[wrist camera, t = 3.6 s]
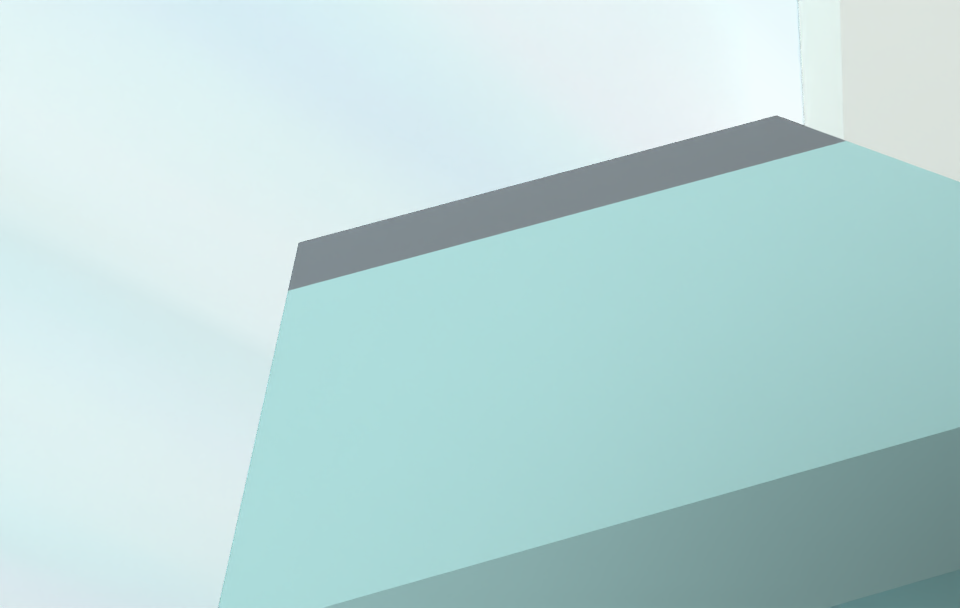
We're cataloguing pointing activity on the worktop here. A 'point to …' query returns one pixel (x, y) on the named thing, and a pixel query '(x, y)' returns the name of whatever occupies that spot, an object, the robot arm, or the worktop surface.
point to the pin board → (885, 77)
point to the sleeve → (623, 392)
